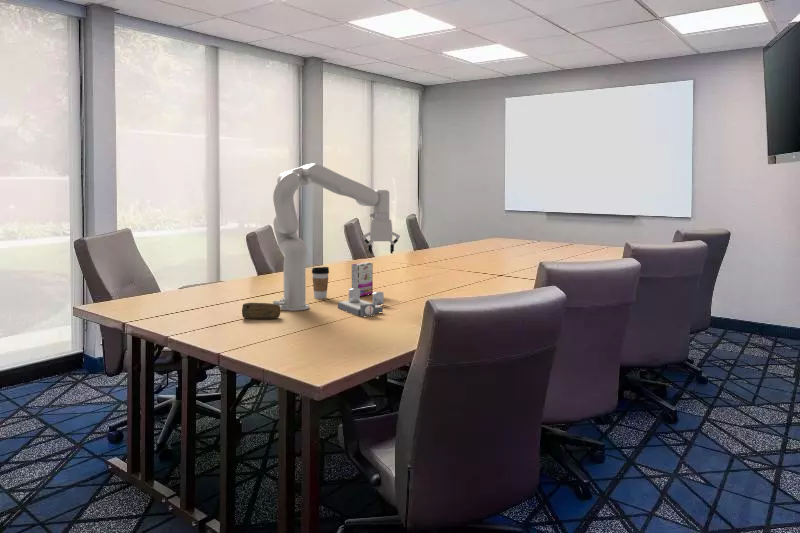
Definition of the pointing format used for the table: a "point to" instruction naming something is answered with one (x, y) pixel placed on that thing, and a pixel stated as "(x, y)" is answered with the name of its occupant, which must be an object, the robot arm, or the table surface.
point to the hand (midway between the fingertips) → (381, 253)
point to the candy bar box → (363, 277)
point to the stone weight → (260, 311)
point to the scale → (360, 308)
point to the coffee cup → (320, 282)
